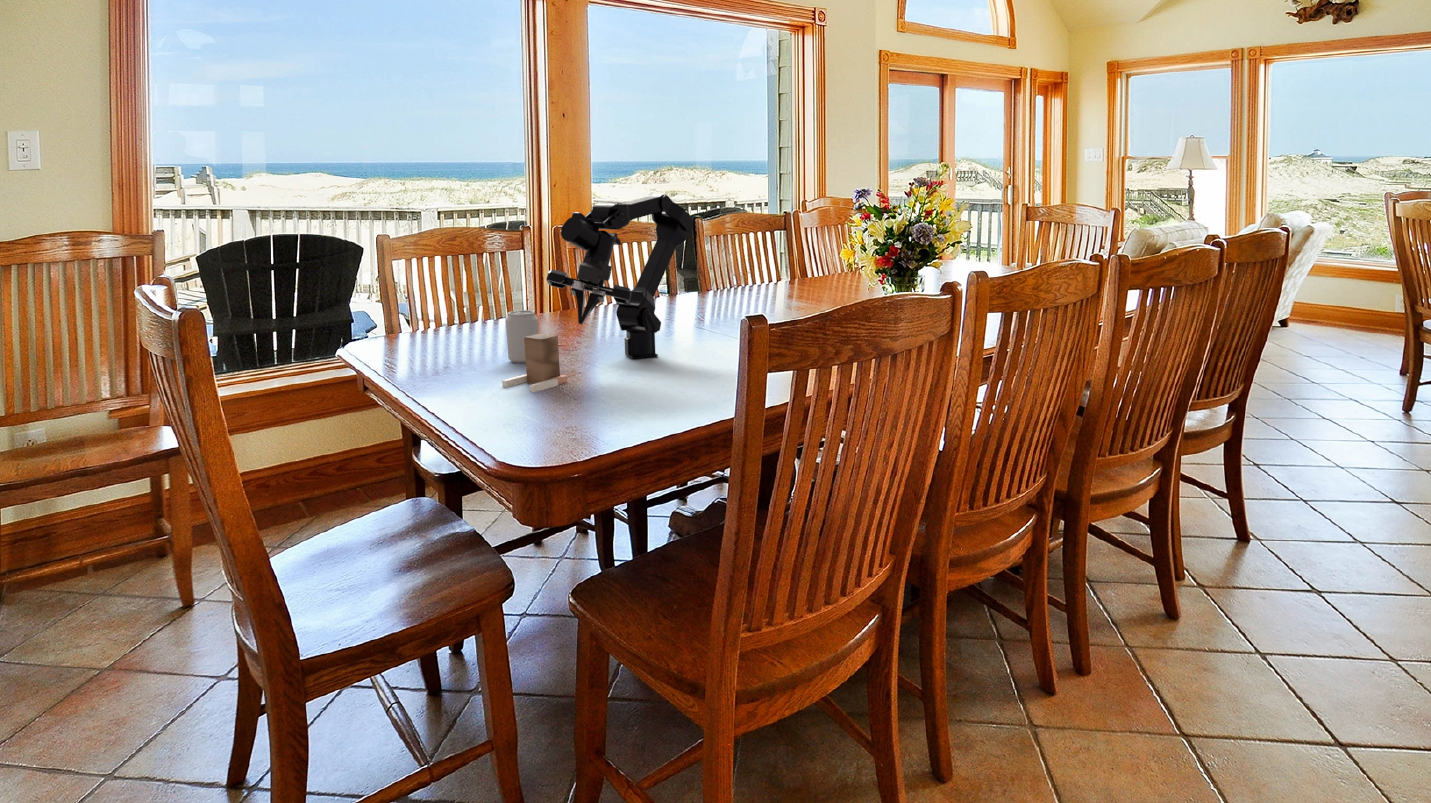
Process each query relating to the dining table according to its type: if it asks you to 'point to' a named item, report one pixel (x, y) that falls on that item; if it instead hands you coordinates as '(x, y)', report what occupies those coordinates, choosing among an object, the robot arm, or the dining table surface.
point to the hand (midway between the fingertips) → (580, 324)
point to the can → (519, 333)
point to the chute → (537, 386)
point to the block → (541, 357)
